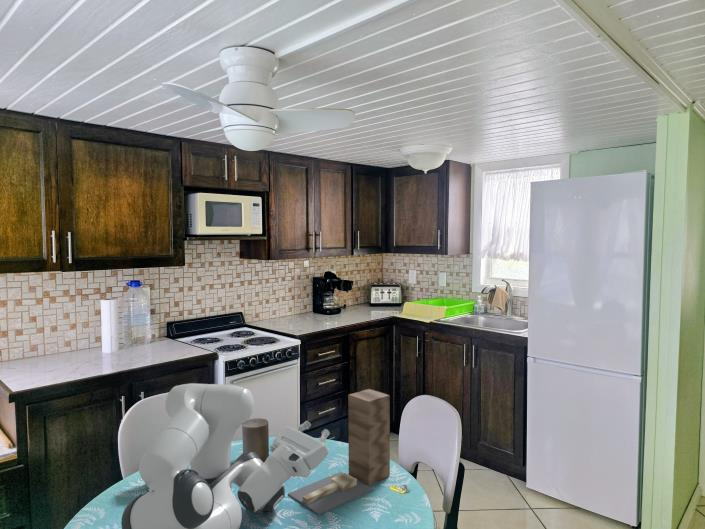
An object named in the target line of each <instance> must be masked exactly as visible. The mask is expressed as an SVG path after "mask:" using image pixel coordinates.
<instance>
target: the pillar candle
mask: <svg viewBox="0 0 705 529" xmlns="http://www.w3.org/2000/svg"><path fill="white" fill-rule="evenodd" d="M241 426H242V427H241V428H242V430H241V431H242V433H241V434H242V453H244V452H255V453H256V454H257V455H258V457H259V458H260V459H261V460H262V462H263V463H264V462H265V461H266V459H267V457H268V456H269V455H270V447H269V446H270V443H269V440H270V439H269V438H270V437H269V436H270V435H269V421H268V419H265V418H262V417H261V418H259V417H258V418H257V417H256V418H255V417H254V418H249V419H248V420H247V421H246V422H245V423H243V424H242V425H241Z"/></svg>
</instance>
